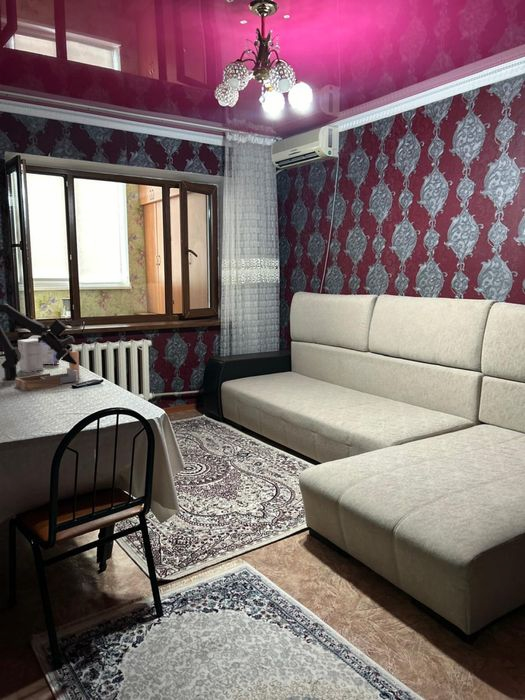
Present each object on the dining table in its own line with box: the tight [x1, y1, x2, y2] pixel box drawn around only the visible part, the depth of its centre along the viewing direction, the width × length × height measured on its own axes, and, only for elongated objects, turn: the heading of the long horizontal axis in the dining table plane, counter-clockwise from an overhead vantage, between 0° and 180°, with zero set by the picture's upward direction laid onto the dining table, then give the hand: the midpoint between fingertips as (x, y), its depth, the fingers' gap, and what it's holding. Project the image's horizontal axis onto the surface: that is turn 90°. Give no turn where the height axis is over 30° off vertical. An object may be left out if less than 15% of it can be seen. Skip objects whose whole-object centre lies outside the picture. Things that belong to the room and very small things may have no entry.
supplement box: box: [17, 338, 44, 373], centre depth 297 cm, size 10×9×17 cm
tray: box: [40, 367, 79, 384], centre depth 269 cm, size 10×15×5 cm, turn 134°
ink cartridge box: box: [41, 342, 60, 366], centre depth 314 cm, size 10×6×14 cm, turn 78°
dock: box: [14, 372, 62, 392], centre depth 262 cm, size 12×17×4 cm
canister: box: [68, 350, 81, 377], centre depth 282 cm, size 5×5×12 cm
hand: (76, 362), depth 282 cm, fingers closed on canister, 5 cm apart
